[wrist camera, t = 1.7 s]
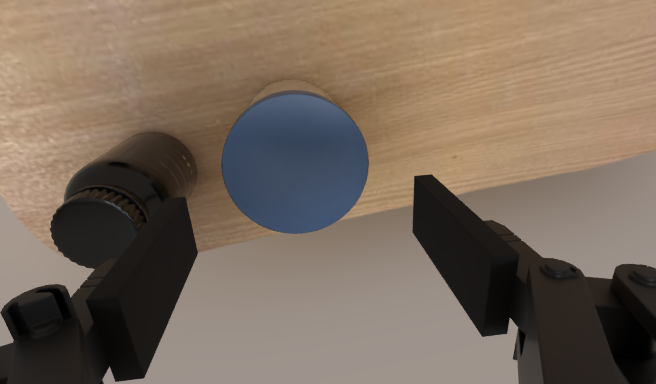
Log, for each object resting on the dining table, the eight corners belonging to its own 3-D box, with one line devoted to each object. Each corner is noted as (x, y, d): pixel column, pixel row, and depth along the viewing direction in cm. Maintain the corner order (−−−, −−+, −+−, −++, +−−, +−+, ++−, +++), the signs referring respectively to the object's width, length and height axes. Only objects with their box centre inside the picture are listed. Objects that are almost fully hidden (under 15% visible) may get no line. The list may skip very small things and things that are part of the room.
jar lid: (236, 226, 25) (232, 240, 23) (214, 95, 22) (207, 99, 20) (364, 214, 26) (369, 226, 24) (361, 84, 22) (367, 88, 21)
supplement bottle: (142, 215, 34) (71, 300, 22) (100, 147, 31) (-3, 204, 20) (212, 190, 33) (177, 262, 22) (176, 119, 31) (116, 161, 20)
